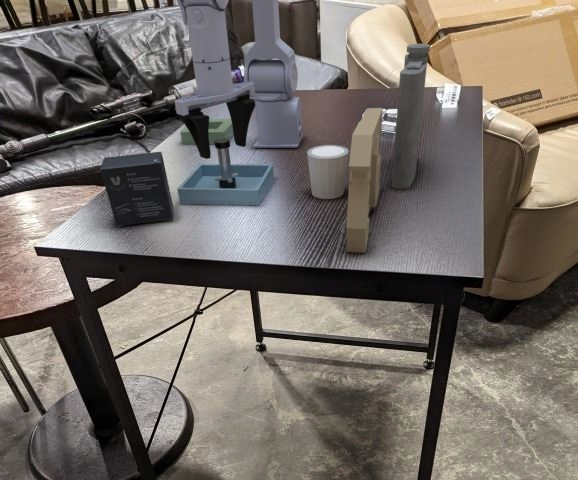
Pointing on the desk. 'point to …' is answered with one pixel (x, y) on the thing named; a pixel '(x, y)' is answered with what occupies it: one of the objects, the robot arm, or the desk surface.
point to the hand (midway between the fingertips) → (223, 151)
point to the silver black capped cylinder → (225, 164)
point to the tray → (207, 190)
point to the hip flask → (409, 115)
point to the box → (137, 188)
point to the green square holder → (211, 131)
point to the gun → (363, 178)
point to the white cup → (327, 170)
